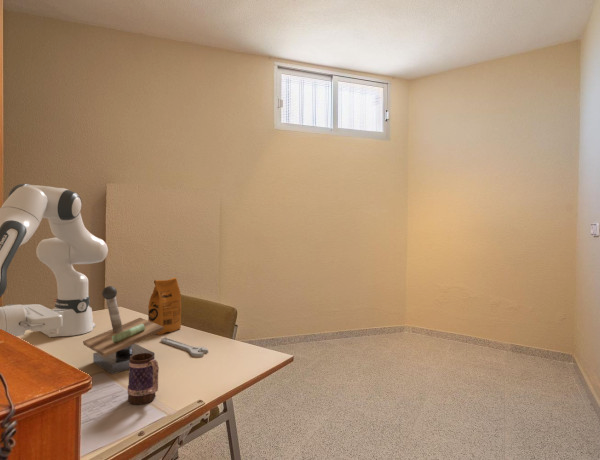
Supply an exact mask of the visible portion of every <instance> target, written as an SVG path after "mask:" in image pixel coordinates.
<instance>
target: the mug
mask: <svg viewBox="0 0 600 460" xmlns="http://www.w3.org/2000/svg"><path fill="white" fill-rule="evenodd" d="M159 369H160V367H159V362H158V361H157V359H155V355H154V356H153V355H152V354H150V353H140V354H136V355H133V356H131V357H130V361H129V369H128V385H127V401H128V403H129V404H131V405H136V406H137V405H138V406H139V405H146V404H149V403H151V402H152V401H154V399H155V398H156V396H157V395H156V393H157V392H158V391H159Z"/></svg>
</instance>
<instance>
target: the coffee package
mask: <svg viewBox="0 0 600 460" xmlns="http://www.w3.org/2000/svg"><path fill="white" fill-rule="evenodd" d="M153 283H154V287H153V291H152V294H151V296H150V297H149V298H150V299H149V301H148V308H147V309H148V310H147V311H148V314H147V315H148V319H147V320H148V321H150V322H153V323H156V324H158V325H161V326H163V327H164V330H162V331H160V332H158V333H156V334H155V335H162V334H166V333H172V332H173V333H174V332H176V331H177V330H181V328H182V327H181V326H182V296H181V290H180V286H179V283H178V279H177V277H172V278H170V279H164V280H163V279H158V280H157V279H154V280H153Z"/></svg>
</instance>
